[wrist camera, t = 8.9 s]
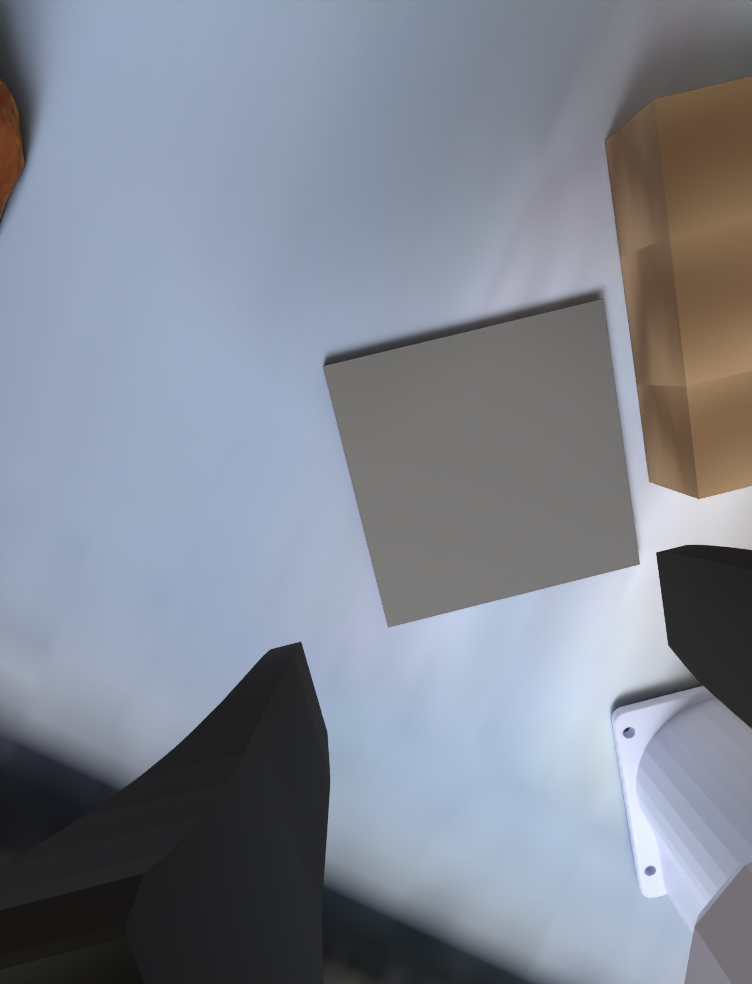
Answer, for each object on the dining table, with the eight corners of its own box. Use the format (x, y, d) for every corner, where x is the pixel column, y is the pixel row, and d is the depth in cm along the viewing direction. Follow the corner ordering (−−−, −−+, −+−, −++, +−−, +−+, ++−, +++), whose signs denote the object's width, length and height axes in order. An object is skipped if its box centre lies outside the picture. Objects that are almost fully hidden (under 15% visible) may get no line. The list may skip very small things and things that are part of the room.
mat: (634, 561, 22) (639, 564, 22) (387, 622, 22) (388, 627, 22) (597, 300, 20) (603, 299, 20) (323, 366, 20) (323, 366, 19)
